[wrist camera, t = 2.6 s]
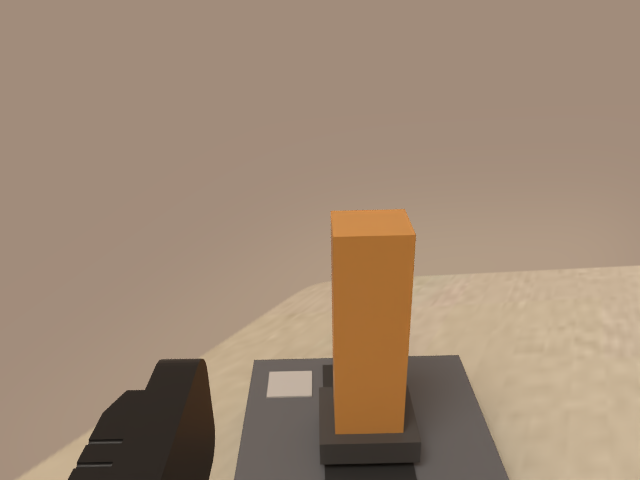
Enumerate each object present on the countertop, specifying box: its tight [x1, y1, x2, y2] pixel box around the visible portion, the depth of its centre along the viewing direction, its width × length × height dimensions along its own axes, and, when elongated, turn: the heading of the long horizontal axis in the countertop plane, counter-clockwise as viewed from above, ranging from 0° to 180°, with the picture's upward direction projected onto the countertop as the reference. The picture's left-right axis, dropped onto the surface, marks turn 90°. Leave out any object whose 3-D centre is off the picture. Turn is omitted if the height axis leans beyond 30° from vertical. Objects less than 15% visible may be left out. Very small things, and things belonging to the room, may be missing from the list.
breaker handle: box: [319, 209, 421, 465], centre depth 22 cm, size 4×4×11 cm
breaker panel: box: [234, 355, 509, 480], centre depth 25 cm, size 12×12×3 cm
